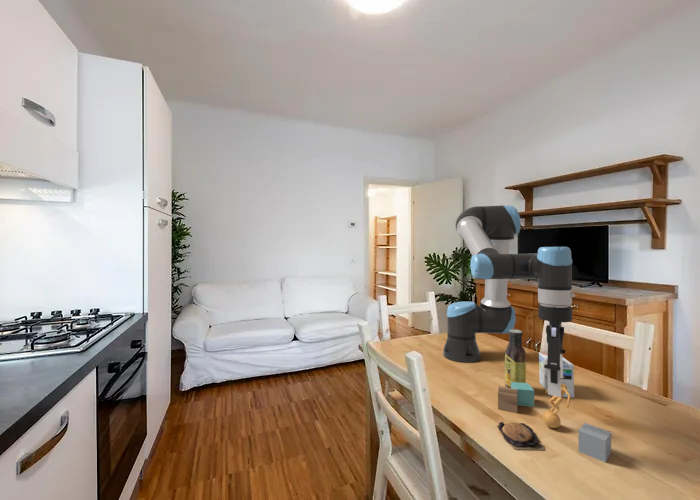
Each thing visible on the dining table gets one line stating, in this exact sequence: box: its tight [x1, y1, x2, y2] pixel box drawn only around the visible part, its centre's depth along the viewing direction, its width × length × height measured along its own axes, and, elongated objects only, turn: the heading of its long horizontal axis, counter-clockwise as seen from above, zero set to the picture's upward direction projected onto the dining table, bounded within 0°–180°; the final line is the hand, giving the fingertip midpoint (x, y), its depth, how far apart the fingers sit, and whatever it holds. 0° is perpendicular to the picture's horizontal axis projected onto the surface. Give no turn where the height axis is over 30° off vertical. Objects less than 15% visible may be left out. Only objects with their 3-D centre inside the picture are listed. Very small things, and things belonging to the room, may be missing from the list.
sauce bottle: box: [504, 328, 527, 388], centre depth 105 cm, size 7×6×20 cm
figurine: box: [542, 383, 572, 429], centre depth 83 cm, size 8×6×12 cm
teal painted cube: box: [511, 382, 535, 408], centre depth 97 cm, size 5×5×5 cm
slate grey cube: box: [578, 422, 612, 463], centre depth 73 cm, size 5×5×5 cm
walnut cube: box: [497, 385, 518, 414], centre depth 94 cm, size 5×5×5 cm
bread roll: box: [496, 421, 546, 452], centre depth 79 cm, size 11×8×4 cm
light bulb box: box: [538, 352, 575, 399], centre depth 104 cm, size 11×7×11 cm, turn 168°
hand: (555, 385), depth 83 cm, fingers open, 13 cm apart
